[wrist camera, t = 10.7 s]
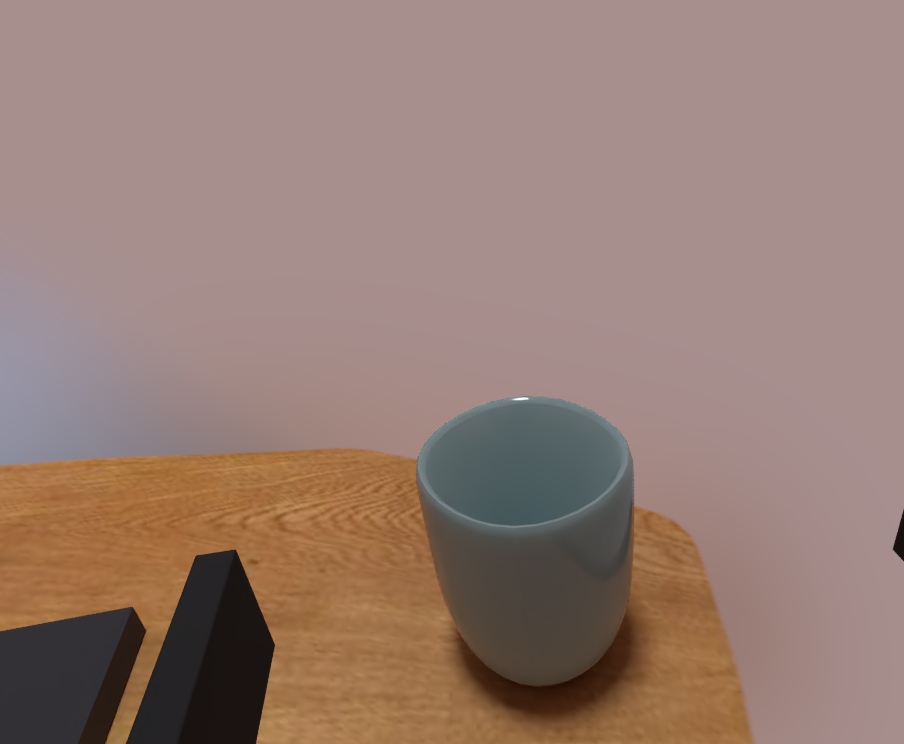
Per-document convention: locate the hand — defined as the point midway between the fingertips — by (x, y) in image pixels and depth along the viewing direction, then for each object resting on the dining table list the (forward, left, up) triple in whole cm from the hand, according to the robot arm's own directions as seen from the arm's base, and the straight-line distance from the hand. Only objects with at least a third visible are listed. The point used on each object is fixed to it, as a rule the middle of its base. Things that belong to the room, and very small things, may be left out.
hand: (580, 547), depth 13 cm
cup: (+8, -6, -15) cm, 18 cm away
